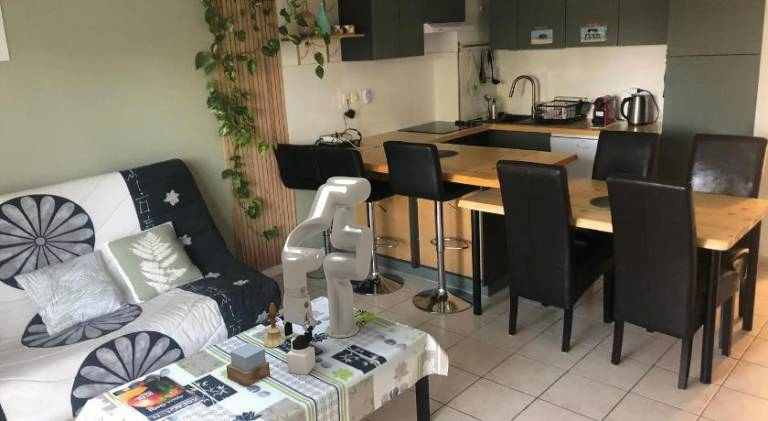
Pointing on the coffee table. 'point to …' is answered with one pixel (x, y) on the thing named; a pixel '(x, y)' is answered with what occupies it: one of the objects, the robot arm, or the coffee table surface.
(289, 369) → the medicine bottle
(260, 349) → the block top
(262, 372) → the block base
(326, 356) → the coffee table surface
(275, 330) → the hand bell
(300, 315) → the robot arm
